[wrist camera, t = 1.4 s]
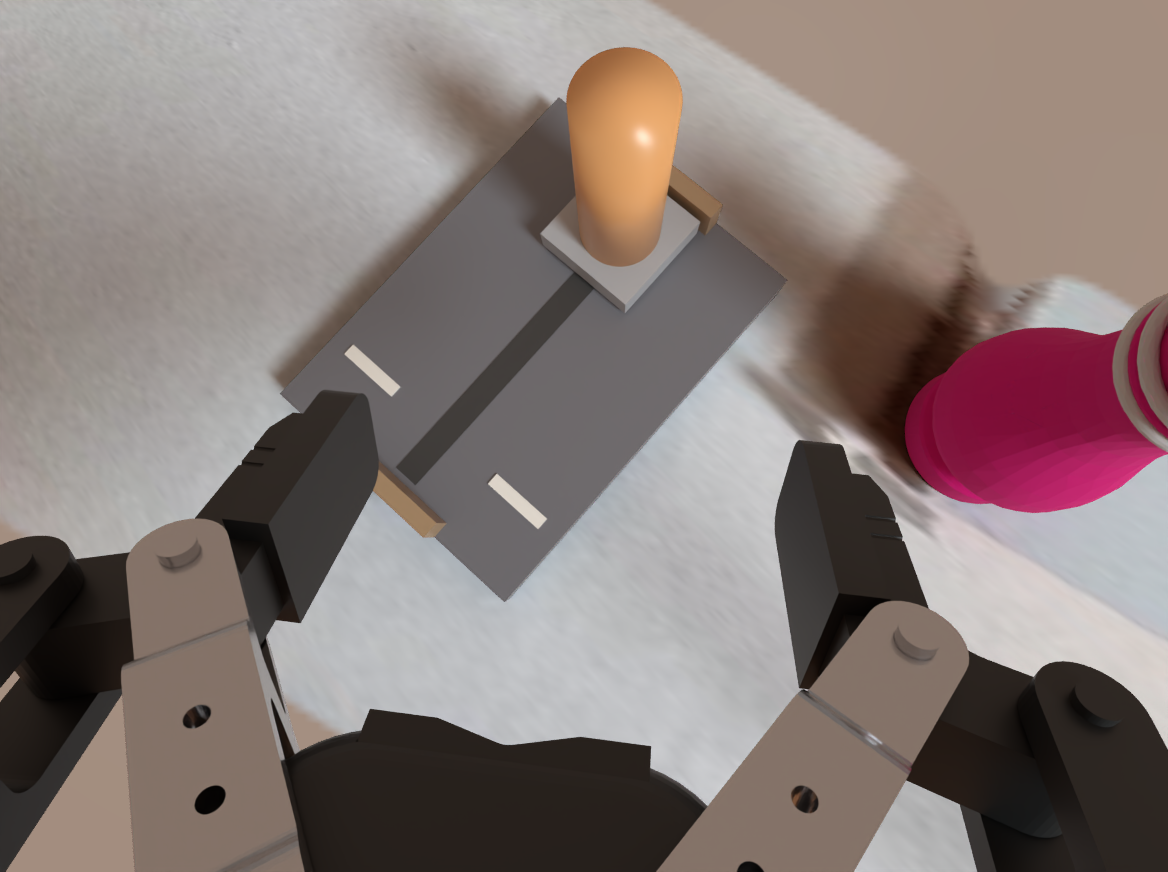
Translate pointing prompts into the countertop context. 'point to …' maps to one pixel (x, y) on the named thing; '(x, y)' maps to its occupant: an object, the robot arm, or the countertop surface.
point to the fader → (622, 175)
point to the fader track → (528, 361)
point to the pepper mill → (1046, 415)
